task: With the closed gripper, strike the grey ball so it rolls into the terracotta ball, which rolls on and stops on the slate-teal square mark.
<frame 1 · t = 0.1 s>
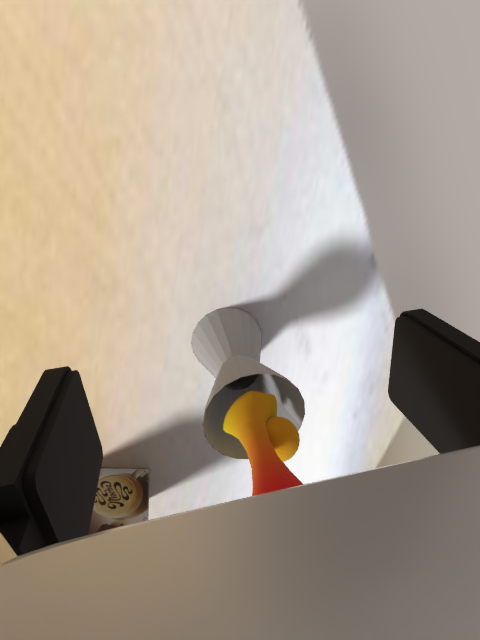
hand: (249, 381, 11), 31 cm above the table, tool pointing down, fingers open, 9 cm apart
lava lamp: (226, 340, 46), on the table
coffee box: (114, 483, 51), on the table
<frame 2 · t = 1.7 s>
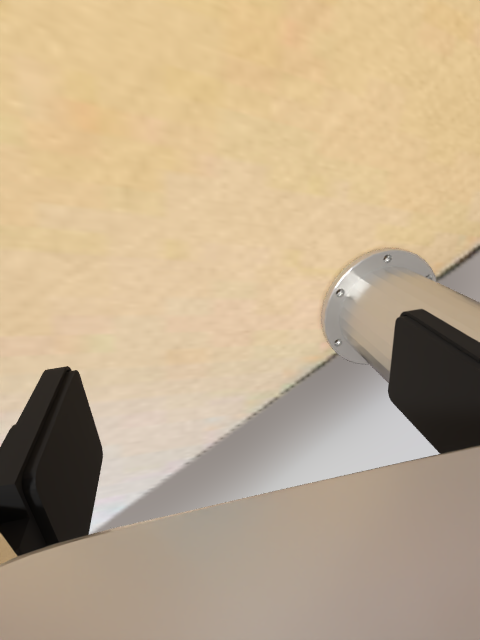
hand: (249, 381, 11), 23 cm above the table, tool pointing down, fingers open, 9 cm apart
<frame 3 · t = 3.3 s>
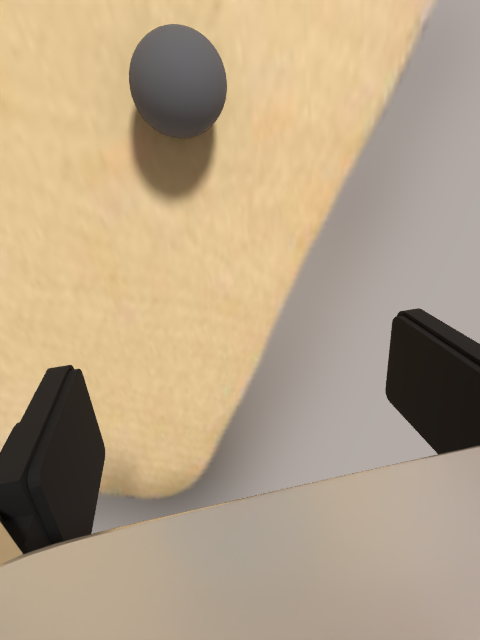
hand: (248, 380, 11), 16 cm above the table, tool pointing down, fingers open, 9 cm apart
grey ball: (178, 85, 20), on the table
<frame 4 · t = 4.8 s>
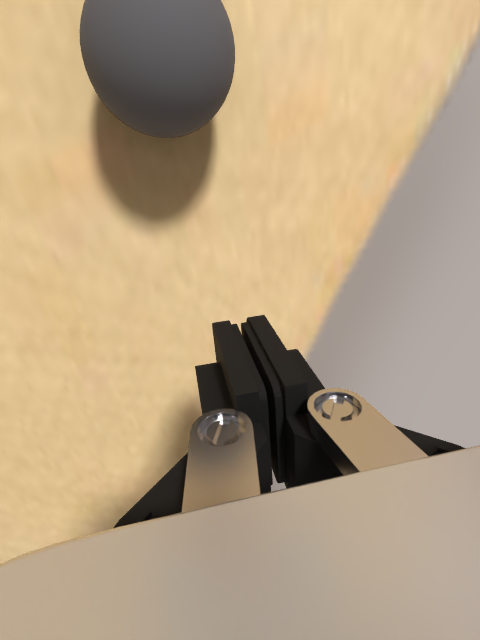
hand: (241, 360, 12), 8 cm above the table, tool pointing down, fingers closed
grey ball: (160, 55, 13), on the table
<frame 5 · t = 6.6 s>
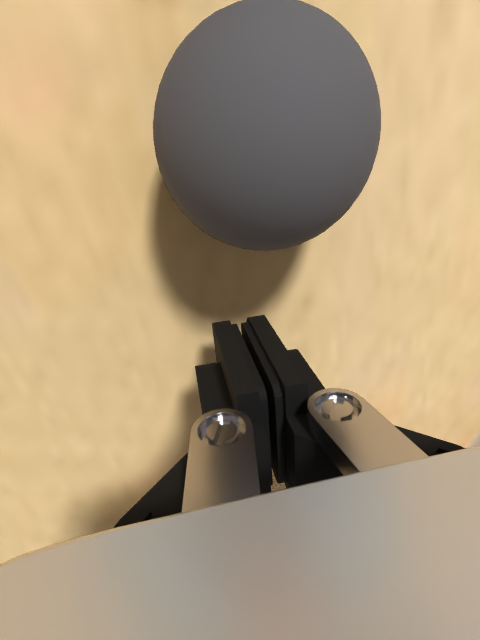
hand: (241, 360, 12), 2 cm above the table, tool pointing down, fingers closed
grey ball: (264, 140, 9), on the table
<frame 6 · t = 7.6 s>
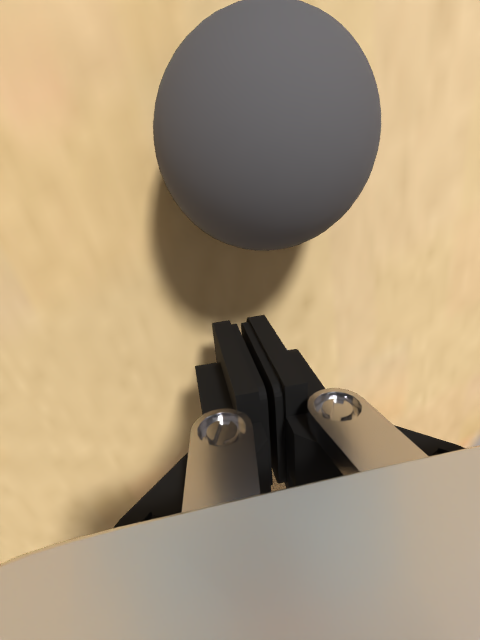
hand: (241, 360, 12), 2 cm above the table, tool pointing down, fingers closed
grey ball: (264, 140, 9), on the table
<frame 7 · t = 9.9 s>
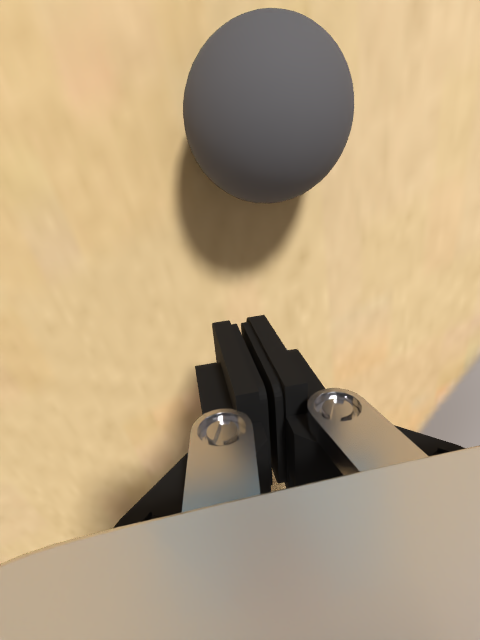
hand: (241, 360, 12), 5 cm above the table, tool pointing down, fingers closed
grey ball: (267, 116, 11), on the table
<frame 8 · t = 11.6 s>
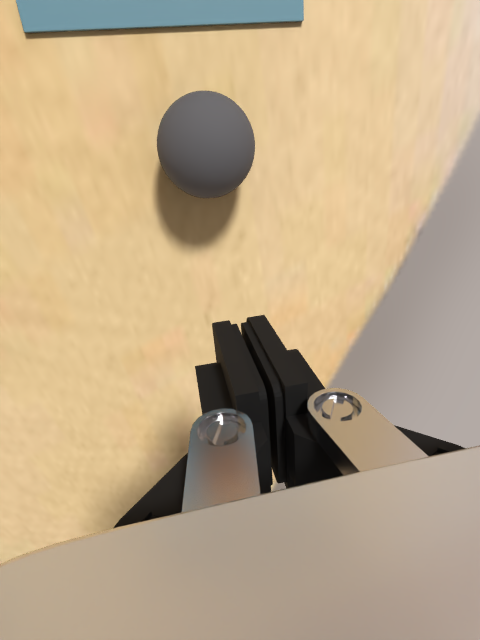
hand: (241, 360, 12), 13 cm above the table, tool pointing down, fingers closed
grey ball: (206, 147, 19), on the table
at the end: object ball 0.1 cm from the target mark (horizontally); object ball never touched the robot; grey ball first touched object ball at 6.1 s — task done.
